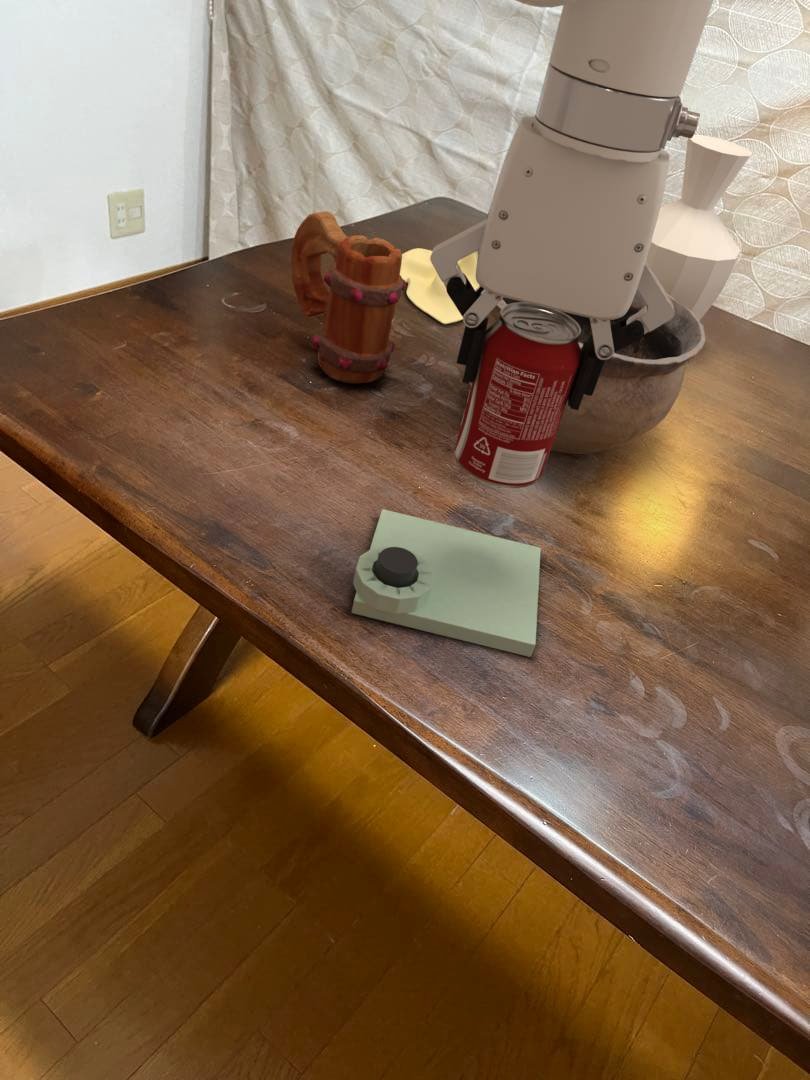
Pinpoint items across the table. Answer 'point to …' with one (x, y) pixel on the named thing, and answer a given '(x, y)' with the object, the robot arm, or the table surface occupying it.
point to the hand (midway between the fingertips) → (521, 385)
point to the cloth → (433, 284)
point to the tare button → (396, 567)
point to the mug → (347, 297)
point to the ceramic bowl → (628, 382)
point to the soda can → (518, 395)
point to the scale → (454, 584)
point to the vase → (698, 227)
